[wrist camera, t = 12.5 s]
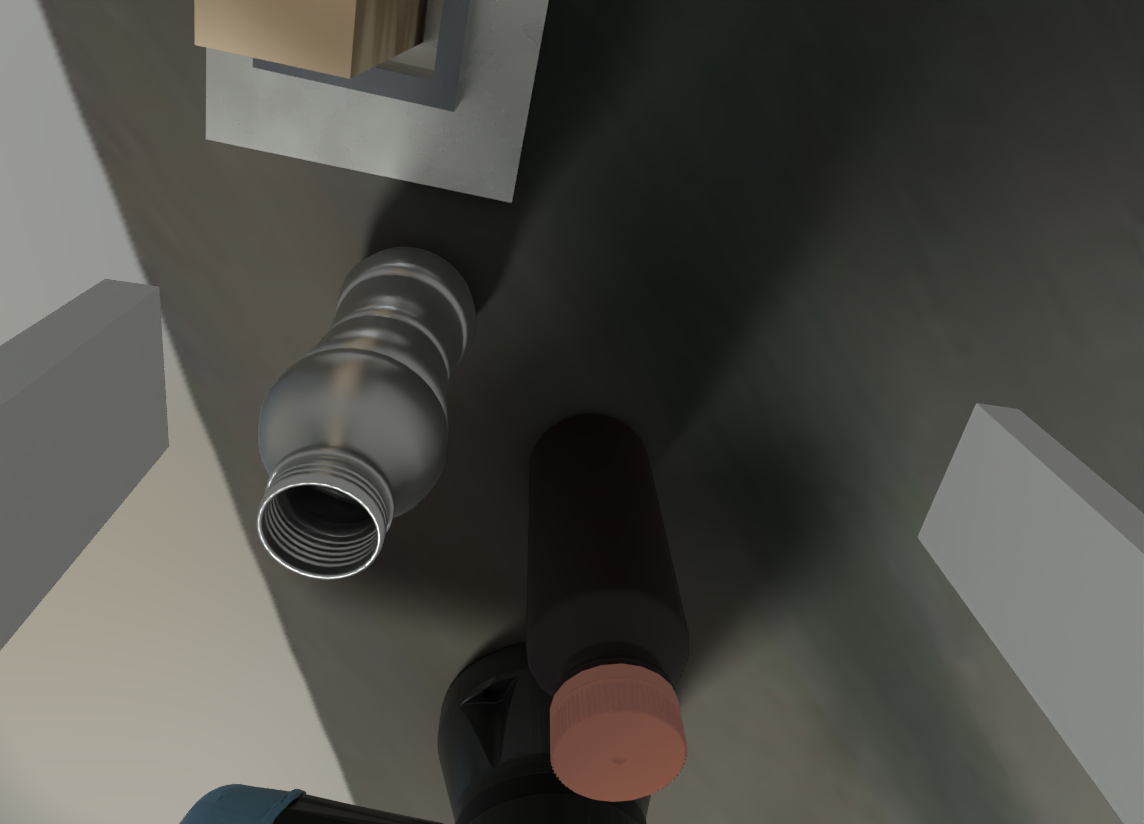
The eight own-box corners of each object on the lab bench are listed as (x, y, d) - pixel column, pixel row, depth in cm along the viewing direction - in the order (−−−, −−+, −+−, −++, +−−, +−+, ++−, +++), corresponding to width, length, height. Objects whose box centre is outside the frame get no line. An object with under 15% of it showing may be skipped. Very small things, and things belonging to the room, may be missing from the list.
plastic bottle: (435, 378, 43) (364, 648, 26) (324, 307, 41) (163, 549, 24) (504, 287, 41) (479, 516, 23) (391, 206, 39) (268, 392, 21)
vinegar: (516, 425, 45) (501, 711, 27) (635, 399, 44) (698, 673, 27) (545, 521, 48) (549, 833, 30) (657, 498, 48) (726, 801, 30)
